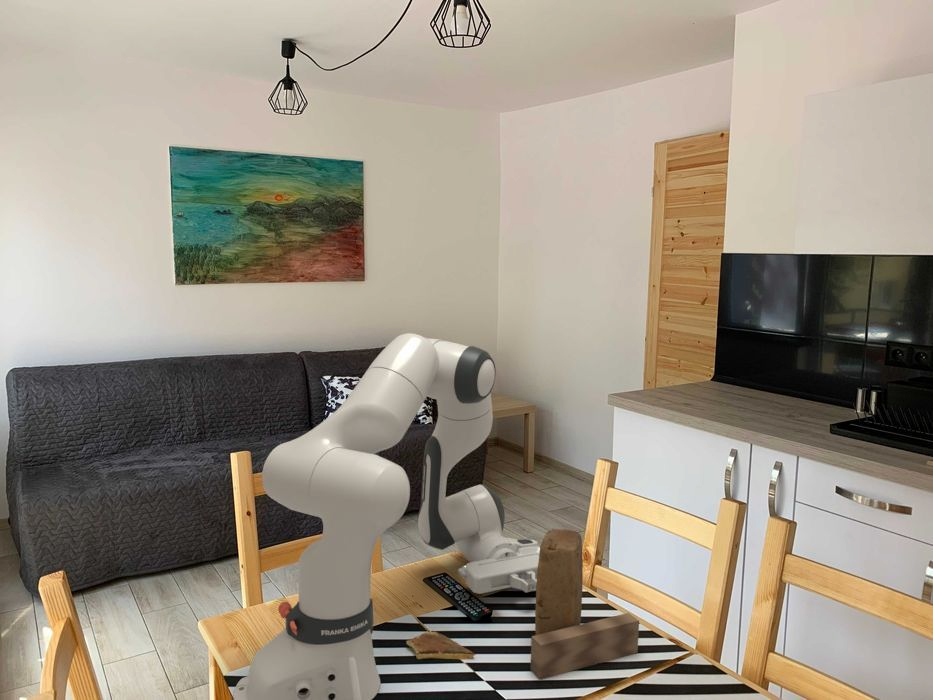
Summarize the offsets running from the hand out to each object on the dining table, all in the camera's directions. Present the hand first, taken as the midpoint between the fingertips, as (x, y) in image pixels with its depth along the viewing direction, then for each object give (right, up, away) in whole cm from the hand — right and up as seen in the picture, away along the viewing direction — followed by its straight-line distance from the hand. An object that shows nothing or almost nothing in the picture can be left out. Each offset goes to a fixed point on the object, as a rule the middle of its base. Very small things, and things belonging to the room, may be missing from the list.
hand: (532, 587), depth 138 cm
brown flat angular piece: (-17, -7, -12) cm, 22 cm away
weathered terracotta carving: (+4, -7, -9) cm, 12 cm away
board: (+8, -7, -16) cm, 19 cm away
